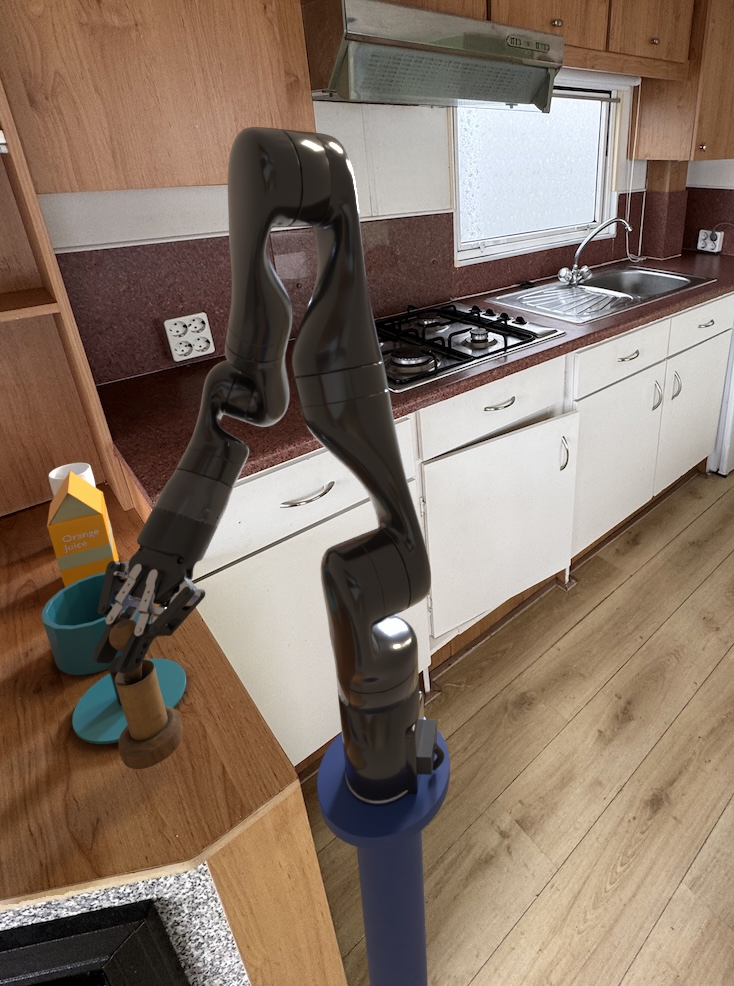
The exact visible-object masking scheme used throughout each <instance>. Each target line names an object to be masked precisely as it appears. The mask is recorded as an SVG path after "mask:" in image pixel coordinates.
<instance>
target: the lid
mask: <svg viewBox="0 0 734 986" xmlns="http://www.w3.org/2000/svg"><path fill="white" fill-rule="evenodd" d="M120 657H121V656H119V657H117V658H116V659H114V660H113V661H112V662H111V663H110V665H109V669H108V671H109V673H108V674H106V675H104V676H103V677H102V678H101V679H99V680H98V681H96V682H94V684H93V685H91V687H90V688H89V689H88V690H87V691H86V692H85V693H84V694H83V695H82V697H81V698H80V699H79V701H78V702H77V704H76V705H75V708H74V710H73V713H72V719H71V724H72V728H73V731H74V733H75V735H76V736H77V737H78V738H79V739H81V740H82V741H84V742H86V743H89V744H95V745H110V744H115V743H119V738H120V735H121V733H122V731H123V730H124V728H125V727H126V726H127V721H126V718H125V715H124V711H123V708H122V704H121V701H120V697H119V694H118V690H117V687H116V684H115V677H116V675H117V673H118V671H116V670H115V668H116V665H117V663H118V661H119V659H120ZM145 660H150V661H152V662H153V663H154V666H155V670H156V675H157V679H158V683H159V687H160V691H161V694H162V698H163V702H164V706H168V707H172V708H174V709H175V708H176V707H177V705H178V704H179V703H180V701H181V699H182V698H183V696H184V693H185V691H186V687H187V675H186V672H185V670H184V668H183V667H182V666H181V665H180V664H179V663H178V662H176V661H174V660H171V659H167V658H161V657H160V658H159V657H158V658H156V657H155V658H147V659H145Z"/></svg>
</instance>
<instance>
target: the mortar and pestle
mask: <svg viewBox="0 0 734 986" xmlns="http://www.w3.org/2000/svg"><path fill="white" fill-rule="evenodd" d="M136 624H137V622H136V621H133V620H124V621H121V622H119V623H117V624H116V625H115V626H114V627H113V628H112V630H111V632H110V635H109V641H110V644H111V645H112V646H113V647H114V648H115V649H117V650H119V651H121V652H122V653H123V651H124V649H125V647H126V645H127V643H128V641H129V639H130V637H131V635H135V634H134V630H135V627H136ZM115 684H116V687H117V690H118V694H119V697H120V701H121V704H122V708H123V711H124V715H125V718H126V721H127V726H126V727H125V728H124V730H123V731H122V733H121V735H120V738H119V742H118V750H119V753H120V757H121V760H122V762H123V764H124V765H125V766H126V767H127V768H129V769H132V770H143V769H145V770H146V769H149V768H151V767H154V766H155V765H158V764H159V763H161V762H162V761H165V760H166V759H168V758H169V756H171V755H173V753H174V752H175V751H176V750H177V748H178V747H179V745H180V744H181V742H182V739H183V736H184V726H183V722H182V718H181V715H180V713H179V711H178V710H177V709H175V708H172V707H168V706H164V702H163V698H162V694H161V691H160V687H159V683H158V679H157V675H156V670H155V666H154V663H153V662H152V661H150V660H146V659H144V660H143V662H142V664H141V665H140V666H139V668H138V669H136V670H135V672H133V673H120V672H118V673H117V675H116V677H115Z"/></svg>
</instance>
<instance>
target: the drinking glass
mask: <svg viewBox="0 0 734 986" xmlns="http://www.w3.org/2000/svg"><path fill="white" fill-rule="evenodd" d="M69 471H71V472H73V473H74V474H76V475H77V476H79V477H80V478H82V479H83V480H85V481H86V482H88V483H89V484H91V485H92V486H94V487H95V488H97V485H96V480H95V476H94V473H93V470H92V467H91V465H90V464H89V463H87V462H73V463H72V462H71V463H68V464H64V465H61V466H58V467H56V468H53V470H51V471H50V472H49V473H48V480H49V484H50V489H51V492H52V496H53V498H54V497H55V495H56V493H57V492H58V490H59V488H60V486H61V485H62V483H63V481H64V480H65V478H66V476H67V474H68V473H69Z"/></svg>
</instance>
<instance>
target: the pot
mask: <svg viewBox="0 0 734 986" xmlns="http://www.w3.org/2000/svg"><path fill="white" fill-rule="evenodd" d="M105 573H106V572H104V573H99V574H94V575H92V576H89V577H86V578H84V579H81V580H78V581H76V582H74V583H72V584H71V585H69V586H67V587H65V586H64V588H61V589H60V590H59V591H58V592H57V593H55V594H54V595H53V596H52V597H51V598H50V599H49V600H47V602H46V603H45V605H44V606H43V609H42V611H41V613H40V616H41V620H42V624H43V627H44V630H45V633H46V637H47V639H48V643H49V646H50V649H51V653H52V656H53V659H54V662H55V665H56V667H57V668H58V670H60V672H63V673H64V674H67V675H71V676H72V675H73V676H87V675H92V674H96V673H100V672H104V671H106V670H109V665H110V663H111V662H110V663H97V662H95V661H93V660H92V658H93V655H94V650H95V647H96V645H97V644H98V641H99V640H100V637H101V635H102V634H103V632H104V630H105V628H106V625H107V624H106V618H105V616H104V615H103V614H99V613H98V607H99V602H100V597H101V592H102V587H103V582H104V578H105ZM114 599H115V595H114V594H113V596H112V601H111V604H114ZM128 607H129V606H128ZM128 607H126V608H125V609H124V611H126V610H127V608H128ZM139 616H140V612H139V611H138V612H137V614H136V615H135V617H134V618H133V621H136V622H138V619H139ZM151 622H152V618H151V619H150V622H149V624H151ZM121 655H122V652H121V651H119V650H118V651H117V654H116V656H115V658H114V659H116V658H117V657H119V656H121ZM114 659H113V660H114Z"/></svg>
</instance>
